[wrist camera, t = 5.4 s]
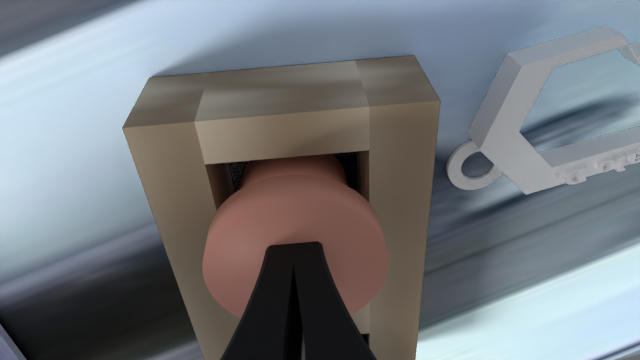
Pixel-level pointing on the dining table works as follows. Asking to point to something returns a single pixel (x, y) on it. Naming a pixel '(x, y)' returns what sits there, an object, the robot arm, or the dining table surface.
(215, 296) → the brick plug
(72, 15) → the dining table surface
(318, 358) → the robot arm
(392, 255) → the socket block
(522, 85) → the stepped key frame
